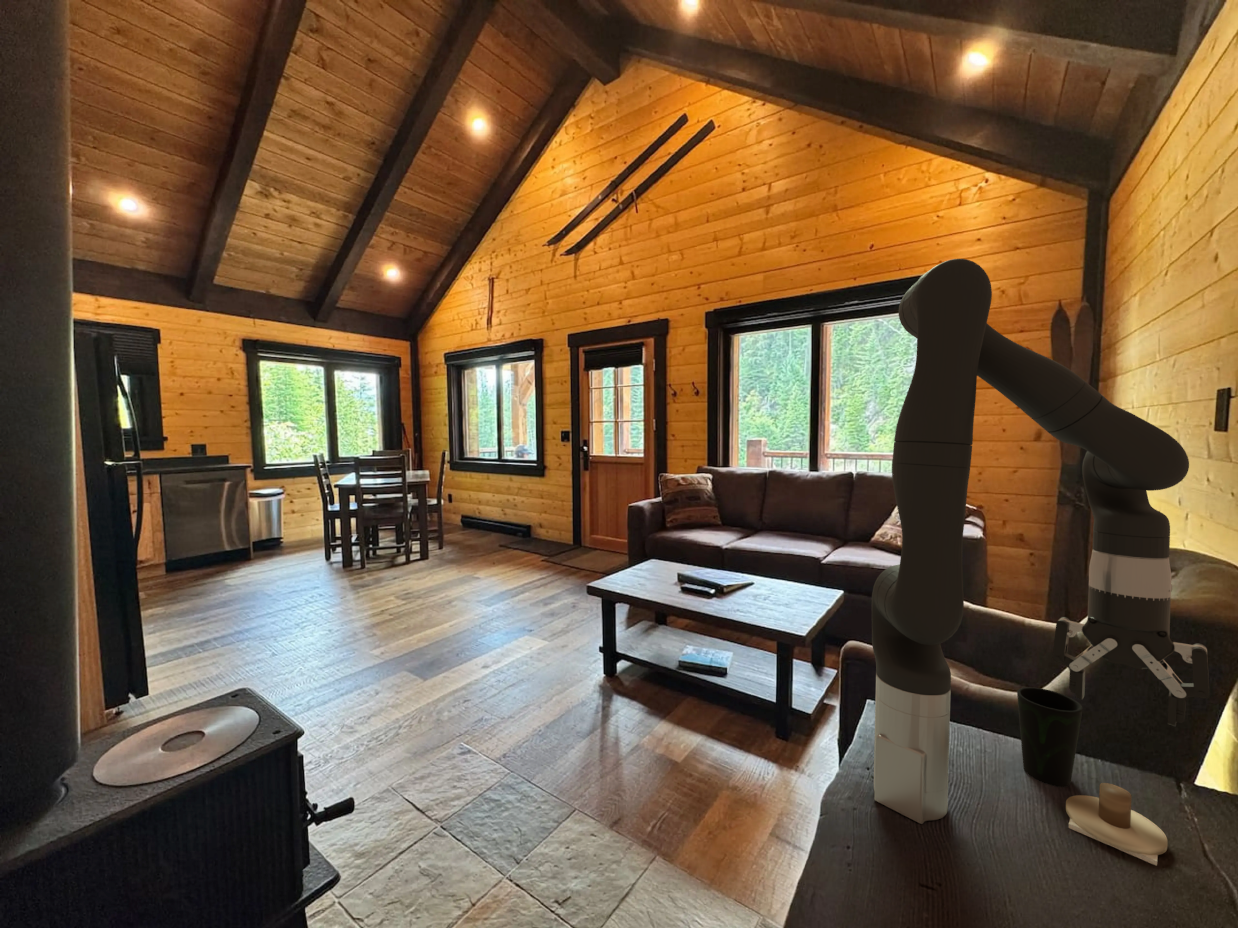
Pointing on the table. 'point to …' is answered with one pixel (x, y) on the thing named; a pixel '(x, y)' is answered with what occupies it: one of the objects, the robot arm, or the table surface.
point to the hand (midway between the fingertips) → (1123, 709)
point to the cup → (1048, 734)
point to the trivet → (1148, 858)
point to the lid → (1116, 821)
